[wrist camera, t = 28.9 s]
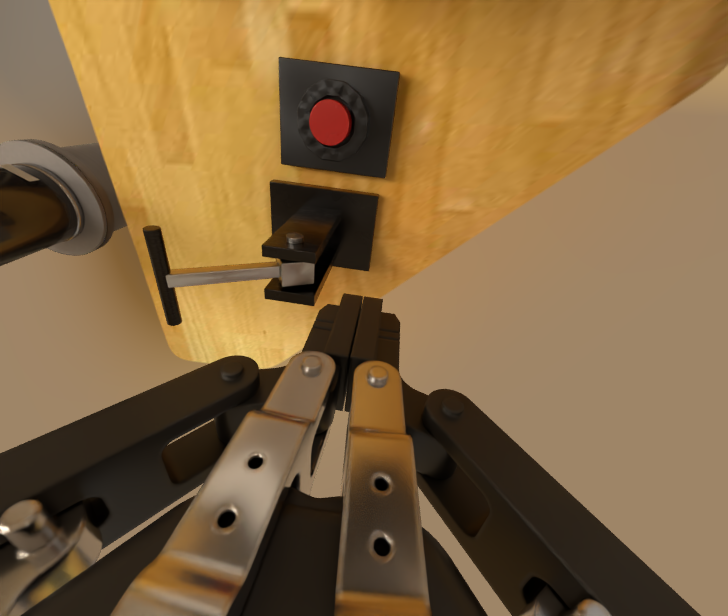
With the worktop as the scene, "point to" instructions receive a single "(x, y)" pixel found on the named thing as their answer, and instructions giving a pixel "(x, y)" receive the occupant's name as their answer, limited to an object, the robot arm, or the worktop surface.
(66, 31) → the worktop surface
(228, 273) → the lever
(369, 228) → the lever bracket
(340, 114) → the button
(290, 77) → the block
